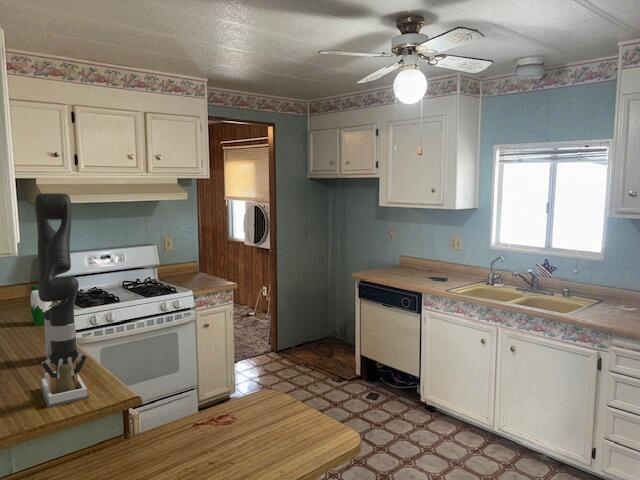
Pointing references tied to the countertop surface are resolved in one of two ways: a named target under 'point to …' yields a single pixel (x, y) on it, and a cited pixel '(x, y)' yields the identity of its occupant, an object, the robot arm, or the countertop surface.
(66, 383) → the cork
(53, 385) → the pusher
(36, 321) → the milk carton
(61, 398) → the white walled tray
